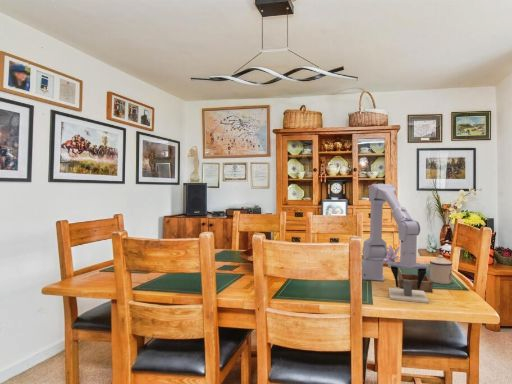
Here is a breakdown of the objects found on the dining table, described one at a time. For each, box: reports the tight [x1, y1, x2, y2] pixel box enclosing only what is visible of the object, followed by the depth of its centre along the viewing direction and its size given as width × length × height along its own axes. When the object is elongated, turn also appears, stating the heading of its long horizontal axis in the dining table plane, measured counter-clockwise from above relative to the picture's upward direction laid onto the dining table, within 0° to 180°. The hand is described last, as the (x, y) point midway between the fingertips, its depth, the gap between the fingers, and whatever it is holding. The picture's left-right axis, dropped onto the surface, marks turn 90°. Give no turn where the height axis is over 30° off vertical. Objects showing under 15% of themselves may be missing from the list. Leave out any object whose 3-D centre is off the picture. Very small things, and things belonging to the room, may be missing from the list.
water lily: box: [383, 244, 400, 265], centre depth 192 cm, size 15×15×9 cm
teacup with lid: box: [429, 254, 453, 285], centre depth 162 cm, size 12×9×12 cm
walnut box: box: [398, 272, 434, 293], centre depth 151 cm, size 12×12×4 cm
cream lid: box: [388, 280, 430, 304], centre depth 138 cm, size 13×13×6 cm
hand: (407, 287), depth 138 cm, fingers open, 7 cm apart
